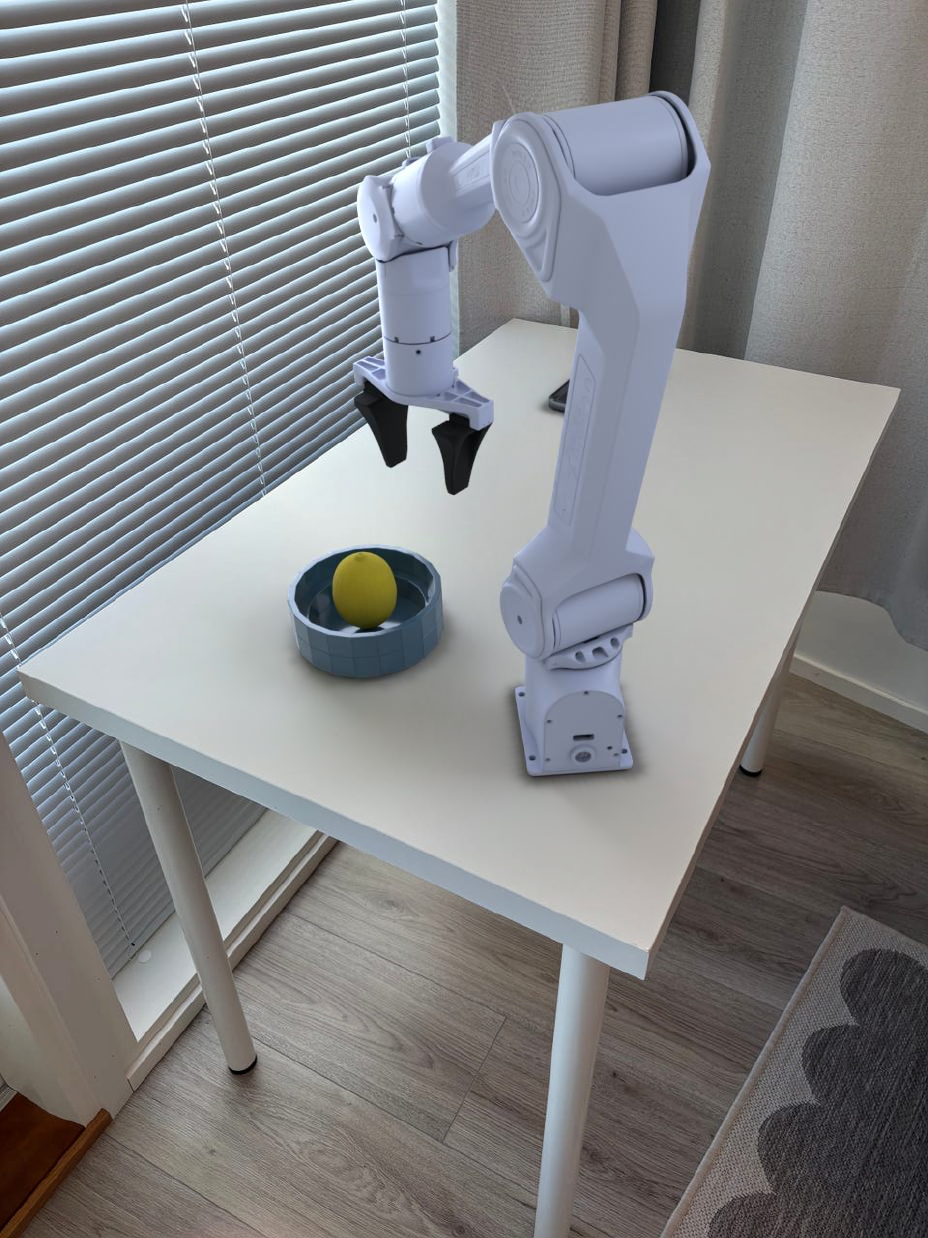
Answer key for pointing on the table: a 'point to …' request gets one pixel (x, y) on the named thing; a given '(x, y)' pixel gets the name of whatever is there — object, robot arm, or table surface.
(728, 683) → the table surface
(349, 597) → the lemon
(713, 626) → the table surface
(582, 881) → the table surface
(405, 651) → the bowl
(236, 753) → the table surface
